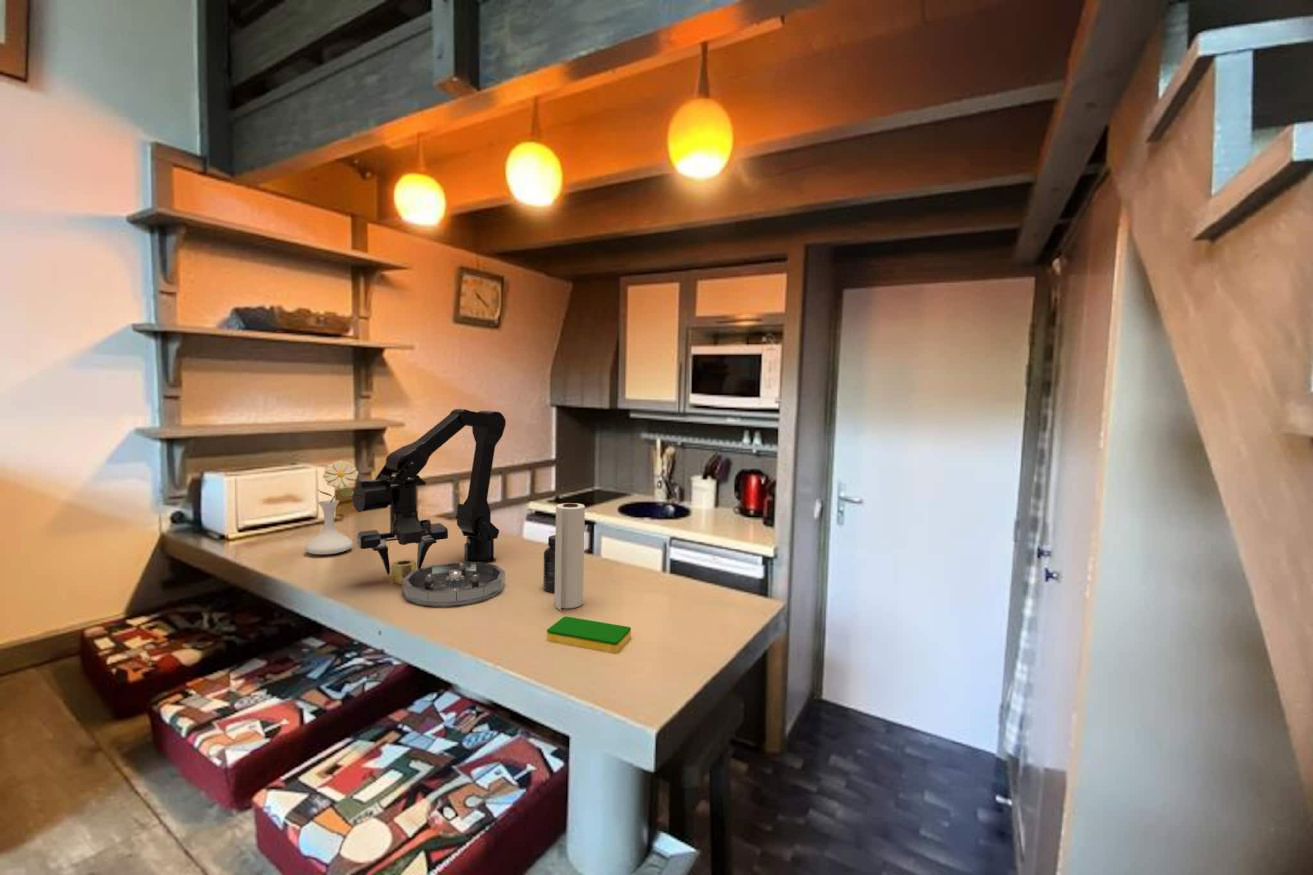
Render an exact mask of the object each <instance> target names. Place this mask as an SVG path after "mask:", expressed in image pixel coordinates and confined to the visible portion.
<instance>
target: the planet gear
mask: <svg viewBox="0 0 1313 875" xmlns="http://www.w3.org/2000/svg"><path fill="white" fill-rule="evenodd" d="M415 570H417V560H414V559H407V558H406V559H399V560H395V561H393V562H391V564H390V574H388V581H389V584H399V585H402V580H403V579H404V578H405V577H406V576H407V575H408V574H409V573H410V572H412V571H415Z"/></svg>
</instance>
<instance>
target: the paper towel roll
mask: <svg viewBox="0 0 1313 875" xmlns="http://www.w3.org/2000/svg"><path fill="white" fill-rule="evenodd" d="M585 508H586V506H585V505H584V504H582V503H577V502H576V503H574V502H573V503H572V502H567V503H566V502H565V503H564V502H563V503H559V504H556V505H555V535H556V539H555V593H554V606H555V608H556V609H558V610H559V612H560V613H561V612H562V609H576V608H578V607H581V606H582V604H584V571H585V570H584V564H585V561H584V560H585V557H584V556H585V522H586V520H585V517H586V515H585V514H586V509H585Z"/></svg>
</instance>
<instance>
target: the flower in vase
mask: <svg viewBox="0 0 1313 875" xmlns="http://www.w3.org/2000/svg"><path fill="white" fill-rule="evenodd" d="M322 474H323V476H322V478H323V479H324V482H326V485H328V486H330V487H333V488H337V489H338V490H337V492H336V493H335V494H334V495H332V494H330V493H328V492H325V491H323V490H322V491H321V490H320V489H318V492H319V493H321V494H323V495H327V496H330V497H332V498H331V499H326V500H320V501H317V504H318V505H319V506H320V507H321V509H322V512H323V519H324V520H323V521H324V524H323V528H322V530H321V531H320V532H319V533H318V534H316V535H315V536H314V537H313V538H312V539H310V540H309V541H308V542H307V543H306V545H305V547H304V550H305V551H306V552H307V553H309V554H313V555H333V554H338V553H339V554H340V553H342V552H345V551H348V550H350V549H351V548H353V546H354V542H353V540H352V539H351V538H350V537H348V536H347V535H345V534H344V533H342V532H341V531H340V530H338V529H337V528H336V526H335V513H336V508H337V506H338V505H339V503H340V500H338V499H337V500H336V499H335V497H336V496H337V495H338V494H340V495H341V496H342V497H344V498H348V497H352V495H353V494H354V490H353V489H352V488H350V487H348V486H351V485H354V484H355V483H356V480H357V478H358V475H359V471H358V470H357V467H355V464H353V463H352V462H348V461H347V460H344V461H343V460H338V461H334V462H333V463H331V464H327V466H326V468H325V469H324V472H323V473H322Z"/></svg>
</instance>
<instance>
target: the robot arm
mask: <svg viewBox="0 0 1313 875" xmlns="http://www.w3.org/2000/svg"><path fill="white" fill-rule="evenodd" d="M506 420H507V419H506V418H505V417H504V415H503V414H502V412H500V411H495V410H494V411H492V410H479V411H478V412H477V411H471V410H469V409H466V408H454V409H453V410H451V412H449V414H448V415H447V416H445V417H444V418H443V419H441V421H439V422H438V423H436V425H433V427H432V428H431V429H429V430H428V431H427V432H425V433H424V434H423V435H422V436H421V437H419V438H418V439H417V440H415V441H414V442H412V443H410V444H406V445H404V446H401V447H399V448H398V449H396V450H394V451H392V452H390V453H389V454H388V456H386V458H385V464H384V466H383V467H382V468H381V469H380V471H379V473H378V474H377V476H375V479H370V480H364V479H363V480H357V481H356V483H357V484H356V485H357V486H355V488H354V490H353V491H354V494H353V495H352V496H351V497H352V504H353V507H354V509H355V510H356V511H357V512H358V513H364V512H370V511H376V510H381V509H382V510H384V509H387V508H388V507H389V532H383V533H382V532H381V533H379V531H378V530H377V529H372V530H362V531H359V532H358V533H357V536H356V539H357V540H356V544H357V545H358V548H360V550H361V549H362V550H366V549H372V551H374V552H378V555H379V556H380V559H381V561H382V564H383V566H384V570H385V571H386V574H387V575H389V574H390V573H391V564H390V560H389V558H390V557H389V547H388V545H387V544H386V543H387V542H391V541H397V542H398V544H399V545H401V546H406V545H409V544H417V555H416V556H417V558H416V559H417V560H416V568H417V570H418V569H421V568H422V567H423V564H424V560H425V557H426V555H427V552H428V550H429V549H430V547H431V546H432V545H433V544H434V545H435V544H437V542H438V541H439V540H446V539H448V538H449V530H448V528H447V527H446V526H445V525H444V524H443V523H441V522H437V523H431V519H421V520H419V519H420V518H419V513H418V486H419V487H420V486H426V484H427V482H426V481H425V480H424V479H423V478H422V477H420V475H419V474H420V472H421V471H422V470H423V469H424V468H425V467H426V465H427V464H428V461H429V459H430V457H431V456H432V455H433V454H434V453H435V452H437V450H439V449H440V448H441V447H442V446H443V445H445V444H446V443H447V442H448V441H449V440H450V439H452V437H454V436H455V435H456V434H458V433H459V432H460V431H461V430H462V429H464V427H471V428H472V430H471V431H472V436H473V439H474V441H475V447H474V455H473V461H472V468H471V474H470V480H469V485H468V486H469V487H468V492H467V498H466V499H465V501H464V502H463V503H458V504H457V507H456V508H457V509H456V510H457V511H456V515H455V518H454V520H456V524H457V526H458V528H459V529H460V530H461V533H462V536H464V537H466V542H465V543H464V560H465V561H466V562H482V563H491V562H496V561H497V558H495V557H494V554H495V552H494V551H495V545H494V544H495V543H494V542H495V539H496V540H497V539H498V536H499V533H500V530H499V528H497V527H496V526H495V525H494V524H493V523H492V521H491V520H492V519H491V517H492V516H491V514H492V513H491V512H492V511H491V508H490V505H489V502H488V496H489V495H488V494H489V490H490V483H491V477H492V469H493V462H494V457H495V450H496V446H497V444H498V443H499V441H501V439H502V437H503V434H504V430H505V428H506V424H507V422H506Z"/></svg>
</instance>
